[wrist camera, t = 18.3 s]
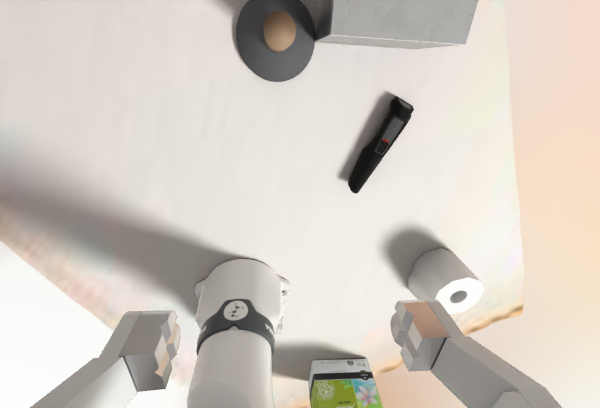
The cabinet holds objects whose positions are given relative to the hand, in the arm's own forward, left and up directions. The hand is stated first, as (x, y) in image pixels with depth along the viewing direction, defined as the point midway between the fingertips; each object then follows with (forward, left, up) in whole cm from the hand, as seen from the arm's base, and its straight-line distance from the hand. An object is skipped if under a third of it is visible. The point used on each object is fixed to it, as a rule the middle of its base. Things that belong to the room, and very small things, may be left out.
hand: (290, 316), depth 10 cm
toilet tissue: (-29, -33, -34) cm, 56 cm away
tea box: (-63, -17, -34) cm, 74 cm away
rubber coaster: (+11, 0, -34) cm, 36 cm away
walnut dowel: (+11, 0, -34) cm, 35 cm away
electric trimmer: (-3, -16, -35) cm, 38 cm away
